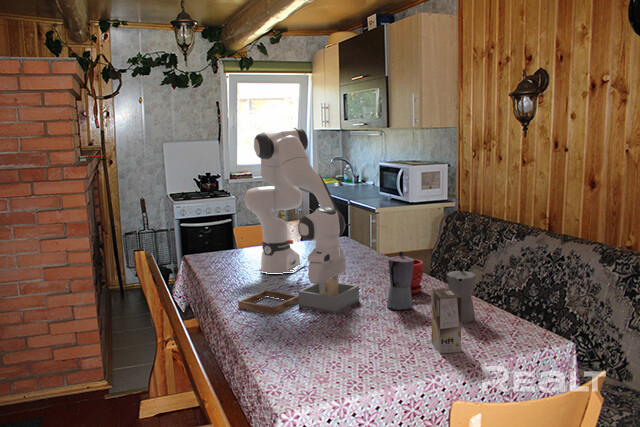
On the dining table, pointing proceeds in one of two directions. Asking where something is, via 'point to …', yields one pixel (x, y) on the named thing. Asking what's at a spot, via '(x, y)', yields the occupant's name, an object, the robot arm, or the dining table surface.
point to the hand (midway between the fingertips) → (328, 289)
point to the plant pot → (416, 276)
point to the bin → (328, 298)
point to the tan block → (330, 287)
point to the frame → (249, 305)
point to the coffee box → (446, 320)
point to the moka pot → (400, 282)
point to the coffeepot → (463, 291)
